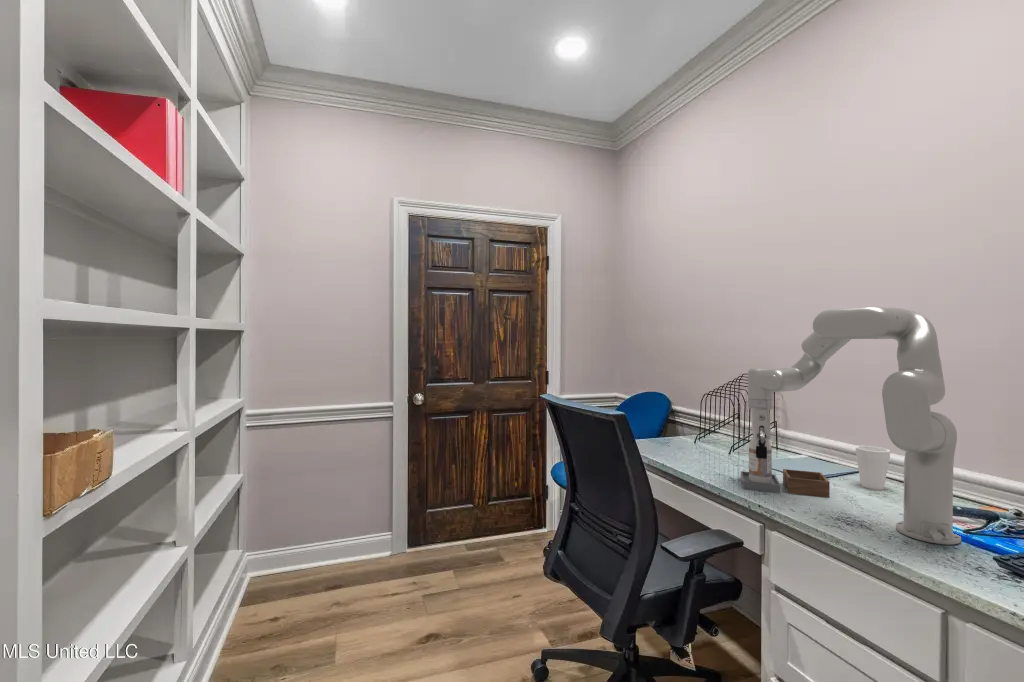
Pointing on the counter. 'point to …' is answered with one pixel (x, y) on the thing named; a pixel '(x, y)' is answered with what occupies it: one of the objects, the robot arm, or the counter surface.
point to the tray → (760, 484)
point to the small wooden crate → (806, 483)
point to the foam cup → (872, 466)
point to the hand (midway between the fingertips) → (760, 455)
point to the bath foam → (760, 463)
